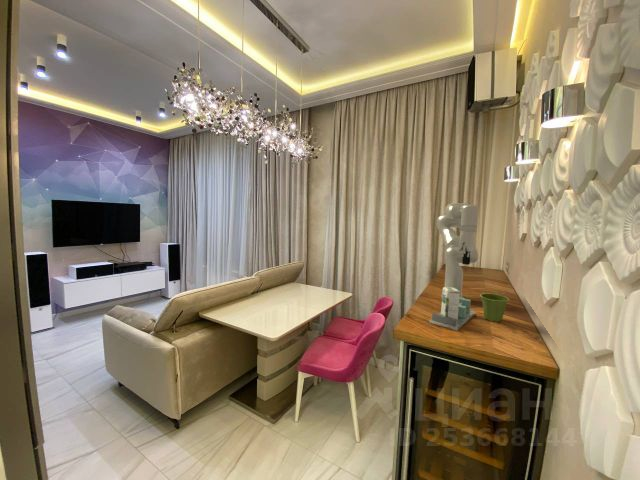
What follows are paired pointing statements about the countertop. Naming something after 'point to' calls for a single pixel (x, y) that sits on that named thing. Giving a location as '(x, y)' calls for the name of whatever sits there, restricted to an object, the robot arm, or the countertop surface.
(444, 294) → the syrup box
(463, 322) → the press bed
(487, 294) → the plant pot
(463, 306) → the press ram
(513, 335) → the countertop surface
